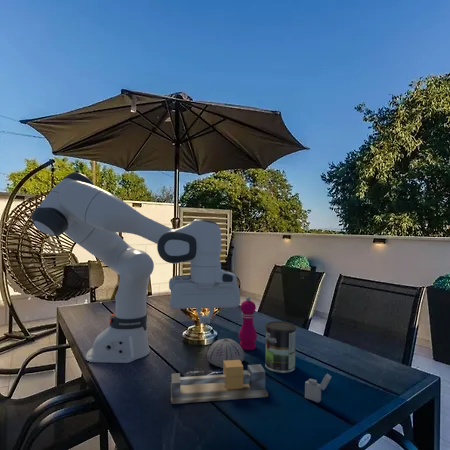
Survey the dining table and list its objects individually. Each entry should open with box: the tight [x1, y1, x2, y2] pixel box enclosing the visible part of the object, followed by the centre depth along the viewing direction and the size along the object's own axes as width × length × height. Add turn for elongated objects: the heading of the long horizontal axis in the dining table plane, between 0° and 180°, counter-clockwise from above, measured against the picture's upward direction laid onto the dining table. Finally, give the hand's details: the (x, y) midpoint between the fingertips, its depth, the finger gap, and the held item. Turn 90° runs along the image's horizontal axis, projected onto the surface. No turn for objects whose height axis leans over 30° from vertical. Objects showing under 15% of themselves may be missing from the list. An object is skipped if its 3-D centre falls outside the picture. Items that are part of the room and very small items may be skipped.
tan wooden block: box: [222, 360, 244, 389], centre depth 97 cm, size 5×5×6 cm
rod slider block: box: [170, 363, 269, 405], centre depth 96 cm, size 27×10×6 cm, turn 99°
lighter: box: [304, 373, 332, 404], centre depth 91 cm, size 7×2×8 cm, turn 51°
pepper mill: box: [238, 296, 258, 351], centre depth 131 cm, size 7×7×20 cm
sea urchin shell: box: [206, 338, 246, 369], centre depth 116 cm, size 13×14×8 cm
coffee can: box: [264, 320, 297, 374], centre depth 113 cm, size 10×10×14 cm
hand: (204, 323), depth 96 cm, fingers closed
